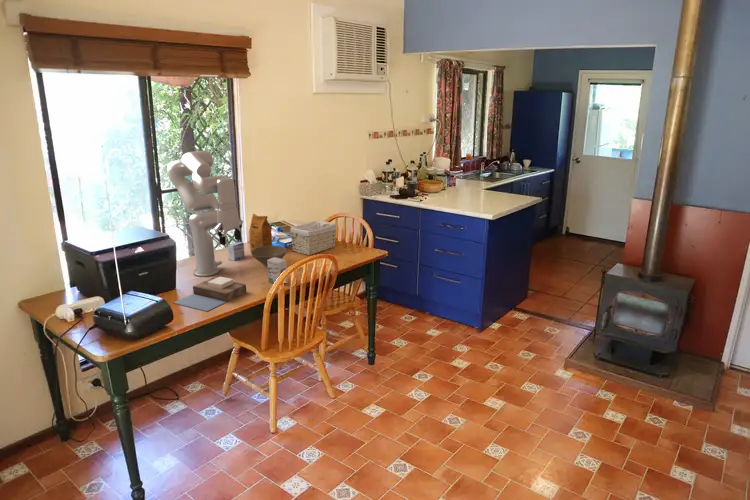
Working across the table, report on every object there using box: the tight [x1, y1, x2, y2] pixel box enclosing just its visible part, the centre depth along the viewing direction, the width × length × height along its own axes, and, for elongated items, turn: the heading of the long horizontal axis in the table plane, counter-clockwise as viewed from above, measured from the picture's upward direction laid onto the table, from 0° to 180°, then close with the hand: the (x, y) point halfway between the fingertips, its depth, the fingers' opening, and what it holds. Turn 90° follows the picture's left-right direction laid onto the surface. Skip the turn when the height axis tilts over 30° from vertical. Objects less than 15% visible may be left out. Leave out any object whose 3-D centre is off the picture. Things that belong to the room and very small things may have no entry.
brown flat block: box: [192, 277, 247, 303], centre depth 239 cm, size 13×20×4 cm, turn 62°
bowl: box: [250, 245, 288, 266], centre depth 278 cm, size 18×18×8 cm
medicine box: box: [227, 241, 246, 262], centre depth 288 cm, size 8×4×9 cm, turn 148°
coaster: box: [208, 276, 235, 289], centre depth 239 cm, size 8×8×2 cm
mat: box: [173, 293, 227, 313], centre depth 229 cm, size 11×20×1 cm, turn 62°
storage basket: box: [289, 220, 337, 256], centre depth 303 cm, size 24×16×15 cm
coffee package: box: [249, 213, 273, 253], centre depth 298 cm, size 10×12×22 cm
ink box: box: [267, 257, 288, 284], centre depth 251 cm, size 8×5×12 cm, turn 55°
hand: (230, 241), depth 241 cm, fingers open, 9 cm apart
